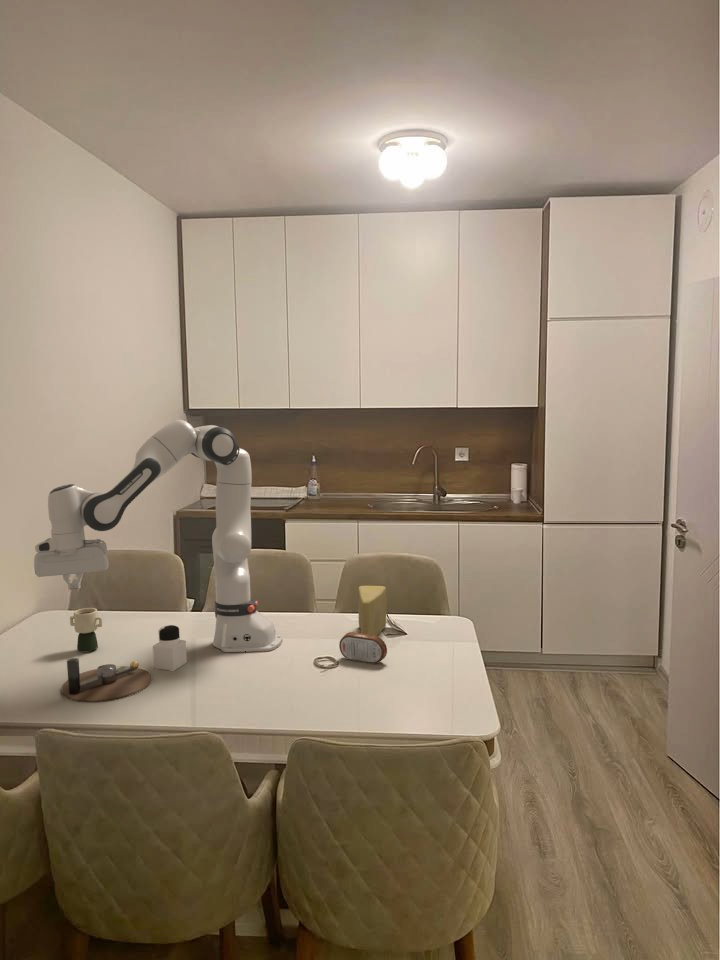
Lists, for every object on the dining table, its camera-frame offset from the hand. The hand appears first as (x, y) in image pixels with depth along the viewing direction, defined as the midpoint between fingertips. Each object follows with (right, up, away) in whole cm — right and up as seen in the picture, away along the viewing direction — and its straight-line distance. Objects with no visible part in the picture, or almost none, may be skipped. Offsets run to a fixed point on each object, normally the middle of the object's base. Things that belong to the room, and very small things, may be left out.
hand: (74, 588), depth 216 cm
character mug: (-5, -23, +24) cm, 34 cm away
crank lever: (+11, -25, -5) cm, 28 cm away
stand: (+11, -26, -5) cm, 29 cm away
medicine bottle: (+25, -25, +9) cm, 37 cm away
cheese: (+86, -21, +33) cm, 94 cm away
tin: (+83, -24, +11) cm, 87 cm away
